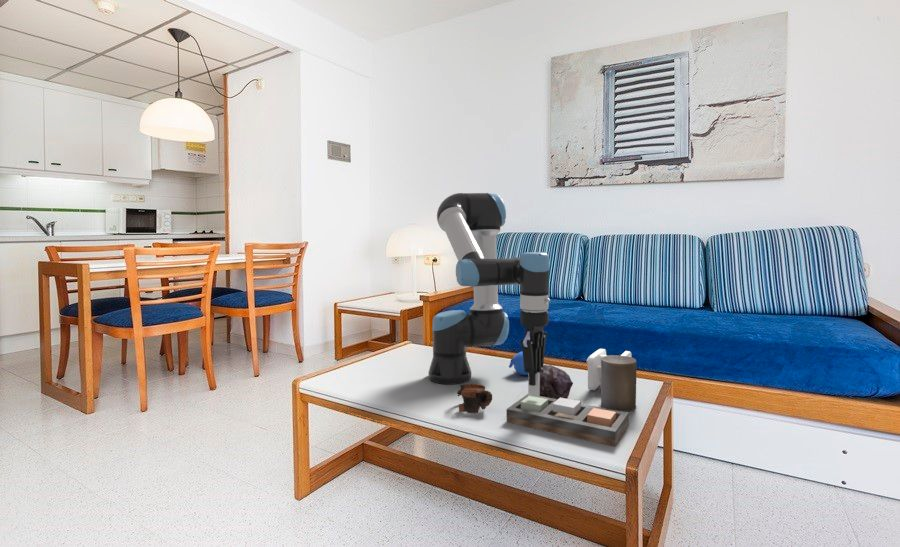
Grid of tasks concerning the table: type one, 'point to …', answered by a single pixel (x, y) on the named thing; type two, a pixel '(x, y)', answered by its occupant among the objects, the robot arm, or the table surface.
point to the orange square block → (601, 417)
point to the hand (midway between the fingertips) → (533, 395)
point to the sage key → (534, 404)
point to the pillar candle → (618, 382)
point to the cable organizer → (597, 367)
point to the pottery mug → (474, 398)
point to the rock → (554, 383)
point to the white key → (566, 406)
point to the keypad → (570, 422)
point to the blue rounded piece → (518, 363)
